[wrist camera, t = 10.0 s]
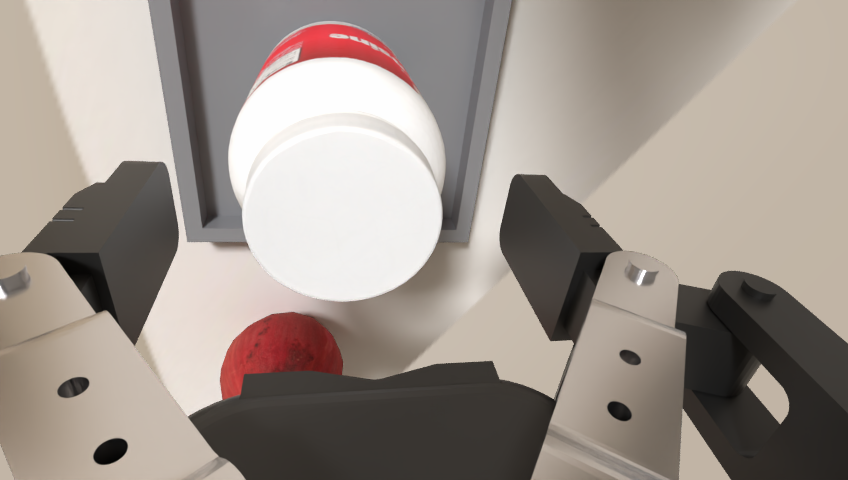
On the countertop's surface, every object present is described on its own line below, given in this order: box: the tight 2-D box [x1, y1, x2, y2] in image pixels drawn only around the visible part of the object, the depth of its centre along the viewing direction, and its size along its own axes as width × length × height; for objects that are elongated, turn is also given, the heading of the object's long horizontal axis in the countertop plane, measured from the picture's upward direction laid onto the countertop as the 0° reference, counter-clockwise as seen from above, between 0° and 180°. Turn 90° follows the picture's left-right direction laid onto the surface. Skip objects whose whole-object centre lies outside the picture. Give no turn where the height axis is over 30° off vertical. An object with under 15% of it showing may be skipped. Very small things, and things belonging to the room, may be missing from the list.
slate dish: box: [148, 0, 512, 242], centre depth 20 cm, size 13×13×2 cm
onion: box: [220, 312, 343, 400], centre depth 24 cm, size 6×6×8 cm
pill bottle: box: [228, 21, 446, 302], centre depth 16 cm, size 6×6×11 cm
